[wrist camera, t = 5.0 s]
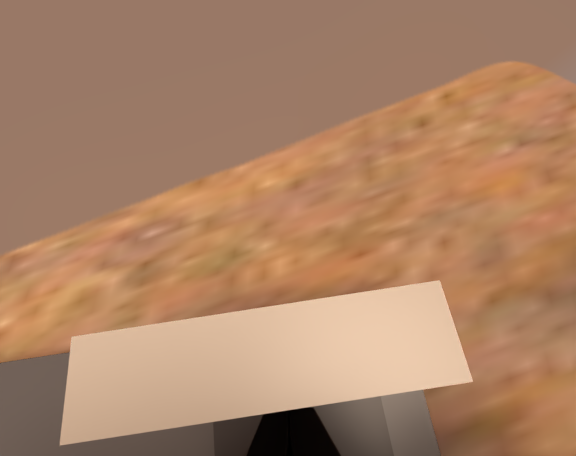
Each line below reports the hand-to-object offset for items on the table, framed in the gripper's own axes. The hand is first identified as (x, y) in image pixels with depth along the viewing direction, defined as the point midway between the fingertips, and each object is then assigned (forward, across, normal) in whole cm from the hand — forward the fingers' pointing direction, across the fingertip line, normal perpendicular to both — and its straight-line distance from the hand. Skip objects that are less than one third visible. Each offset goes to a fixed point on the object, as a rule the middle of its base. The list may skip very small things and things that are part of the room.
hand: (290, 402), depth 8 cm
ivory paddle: (+4, 0, +3) cm, 5 cm away
